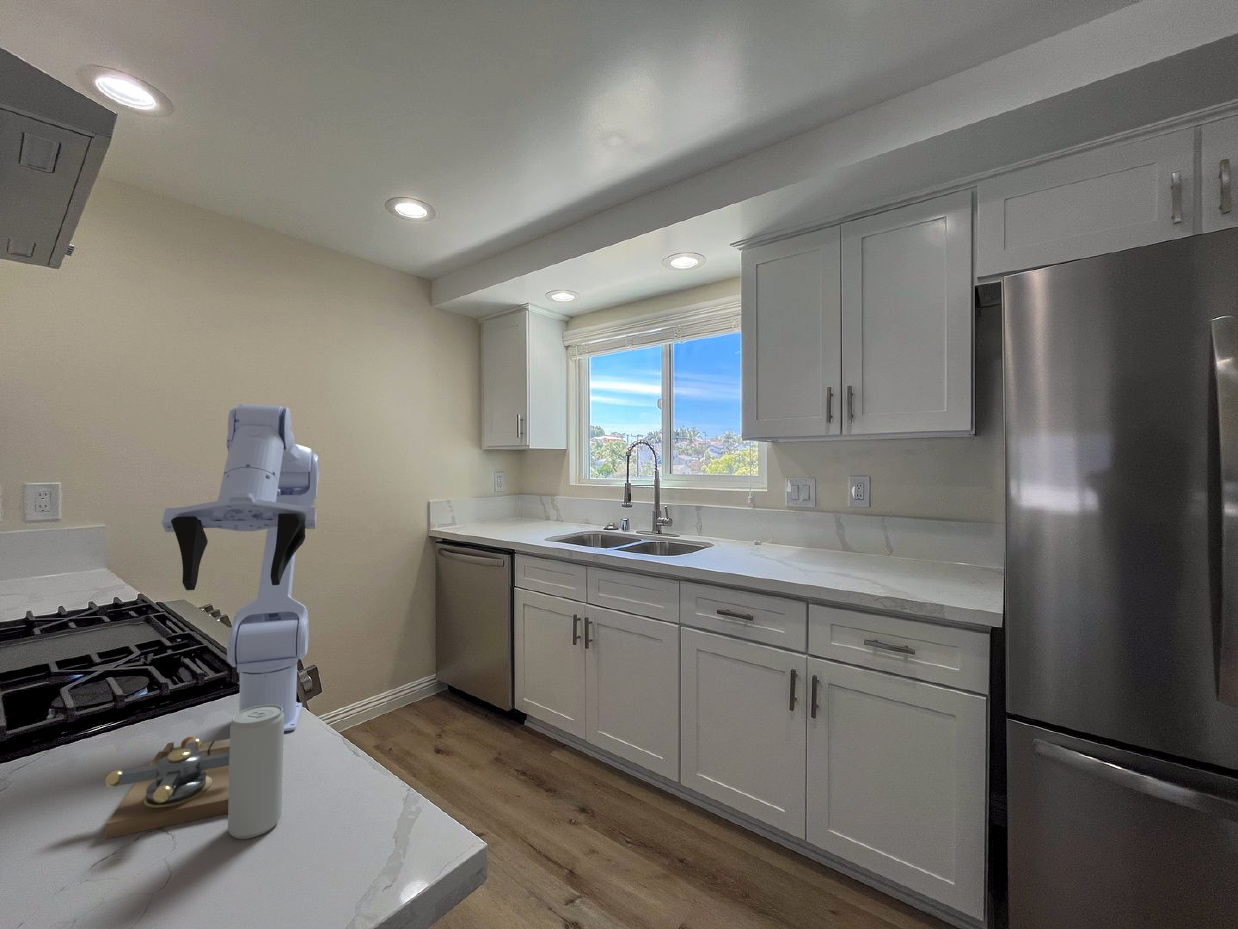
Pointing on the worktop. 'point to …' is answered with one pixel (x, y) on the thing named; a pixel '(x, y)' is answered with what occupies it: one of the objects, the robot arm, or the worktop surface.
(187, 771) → the capstan
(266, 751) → the beverage can
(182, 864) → the worktop surface
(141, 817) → the valve wheel board
